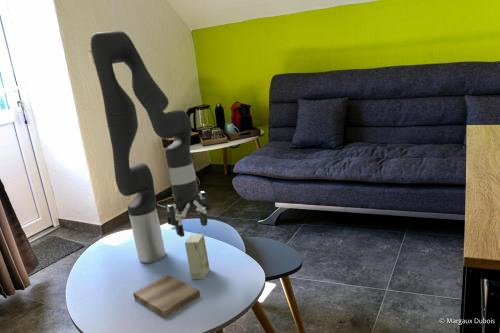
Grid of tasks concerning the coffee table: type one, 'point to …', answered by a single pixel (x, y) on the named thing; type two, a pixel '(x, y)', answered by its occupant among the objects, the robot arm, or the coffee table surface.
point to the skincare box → (197, 256)
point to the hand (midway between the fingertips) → (193, 230)
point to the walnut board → (166, 295)
